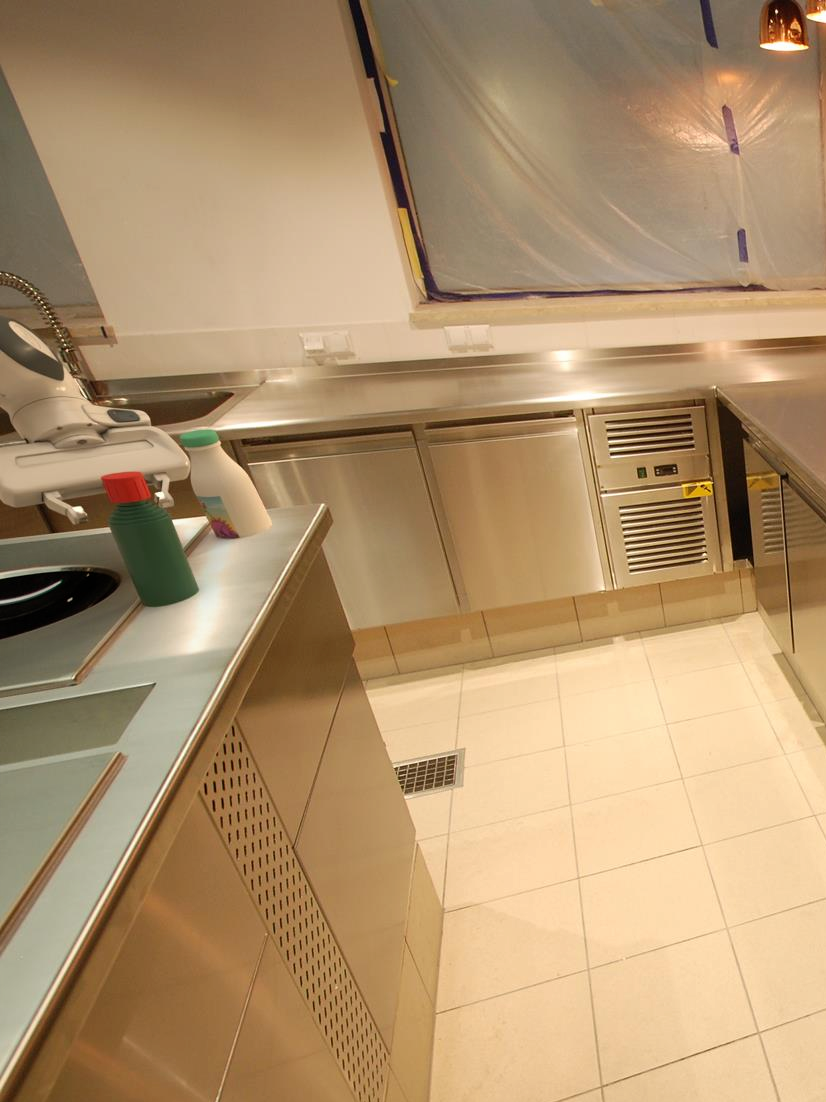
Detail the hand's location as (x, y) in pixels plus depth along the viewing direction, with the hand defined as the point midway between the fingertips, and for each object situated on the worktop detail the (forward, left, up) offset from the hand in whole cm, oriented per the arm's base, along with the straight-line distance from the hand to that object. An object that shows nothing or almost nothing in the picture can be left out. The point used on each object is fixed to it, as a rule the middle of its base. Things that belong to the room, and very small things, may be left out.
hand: (126, 513), depth 117 cm
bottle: (+2, -4, -13) cm, 14 cm away
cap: (+2, -4, +3) cm, 5 cm away
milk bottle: (+8, +20, -13) cm, 26 cm away
